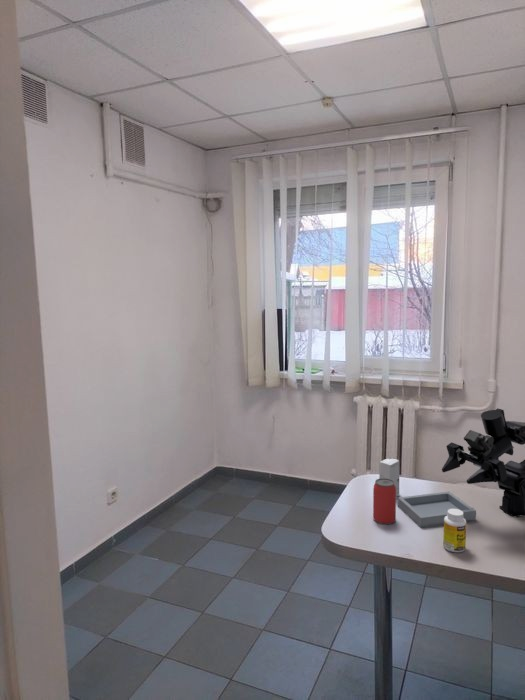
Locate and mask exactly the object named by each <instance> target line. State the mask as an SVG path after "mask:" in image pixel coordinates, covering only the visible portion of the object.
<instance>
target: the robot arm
mask: <svg viewBox="0 0 525 700" xmlns="http://www.w3.org/2000/svg"><path fill="white" fill-rule="evenodd" d="M480 418H481V421H482V426H483V429H484V433H485V434H486V435H485V434H482V433H481V432H477V431H474V430H471V429H470V430H468V432H466V434H465V436H464V437H463V441H465V442H466V444H467V445H468V446H467V450H468V452H467V451H465V449H464V446H463V445H460V444H457V443H456V442H455V443H454V442H450V443H448V444H447V445H446V446H445V447H446V451H447V453H448V457H447V460H446V461H445V463H444V465H443V466H442V468H441V472H442V473H447V472H449V471H453V470H455V469H457V468H461V465H464V464H465V463H466V461H467V462H469V463H472V464H473V465H474V467H475V466H476V467H478V468H479V469H477V470H476V472H474V473H473V474H471V476H469V477H468V478H467V479H466V483H467V484H468V485H471V484H479V483H492V482H493V483H497V485H498V488H499V489H500V490H503V496H501V497H502V499H501V505H499V509H500V510H502V509H503V510H502V511H504V512H505V513H507V514H508V515H510V516H511V515H512V516H511V517H513V516H516V517H521V516H520V515H523V516H525V459H523V460H522V461H520V462H516V461H514V460H509V461H507V462H506V463H505V462H504V461H502V460H500V459H499V458H501V457H502V456H503V455H504V454H506V455H510V456H513V455H514V448H515V447H514V446H513V443H515V444H517V445H525V421H523V422H521V421H515V420H506V417H505V410H504V409H501V408H495V409H490V410H485V411H483V412H482V413H481V415H480Z"/></svg>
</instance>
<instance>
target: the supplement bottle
mask: <svg viewBox="0 0 525 700" xmlns="http://www.w3.org/2000/svg"><path fill="white" fill-rule="evenodd" d="M463 517H464V515H463V512H462V511H461V510H459V509H449V510H448V512H447V516H445V518H444V525H443V540H442V541H443V543H442V544H443V547H444V548H445V550H447V551H449V552H452V553H463V552H465V549H466V542H467V540H466V539H467V537H466V536H467V521H466V520H465V519H464V518H463Z"/></svg>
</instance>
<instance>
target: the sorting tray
mask: <svg viewBox="0 0 525 700" xmlns="http://www.w3.org/2000/svg"><path fill="white" fill-rule="evenodd" d="M397 507H398V508H399V509H400V510H401V511H402V512H403V514H406V516H407V517H408V518H410V519H411V520H412V521H413V522H414V523H415V524H416V525H417V526H418V527H420V528H421V529H422V528H427V527H429V528H430V527H436V526H437V527H438V526H444V518H445V516H447V512H448V510H449V509H459V510H461V511H462V512H463V515H464V517H463V518H464V519H465V520H466V522H472V521H476V520H477V510H476V509H474V508H473V507H472V506H471V505H469V504H468V503H466V502H464V500H461V499H460V498H459V497H457V496H456V495H455V494H453V493H452V492H450V491H442V492H434V493H433V492H432V493H426V494H425V493H424V494H415V495H410V496H408V495H407V496H399V497H398V496H397Z"/></svg>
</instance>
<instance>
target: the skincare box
mask: <svg viewBox="0 0 525 700" xmlns="http://www.w3.org/2000/svg"><path fill="white" fill-rule="evenodd" d="M378 463H379V470H378V472H379V473H378V474H379V475H378V476H379V477H378V479H380V478H386V479H390V480H392V481H394V485H395V487H396V498H398V496H399V495H400V460H399V459H394V458H391V457H388V458H386V459H383V460H381V461H379V462H378Z"/></svg>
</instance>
